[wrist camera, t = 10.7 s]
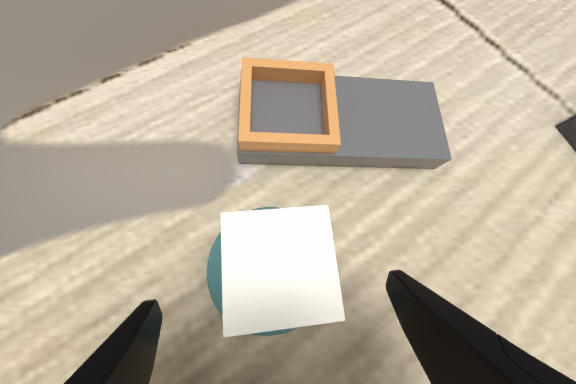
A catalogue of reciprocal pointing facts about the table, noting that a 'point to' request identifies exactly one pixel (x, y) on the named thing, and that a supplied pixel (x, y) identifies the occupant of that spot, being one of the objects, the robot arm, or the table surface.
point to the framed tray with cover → (336, 118)
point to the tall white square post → (278, 270)
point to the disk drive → (569, 130)
